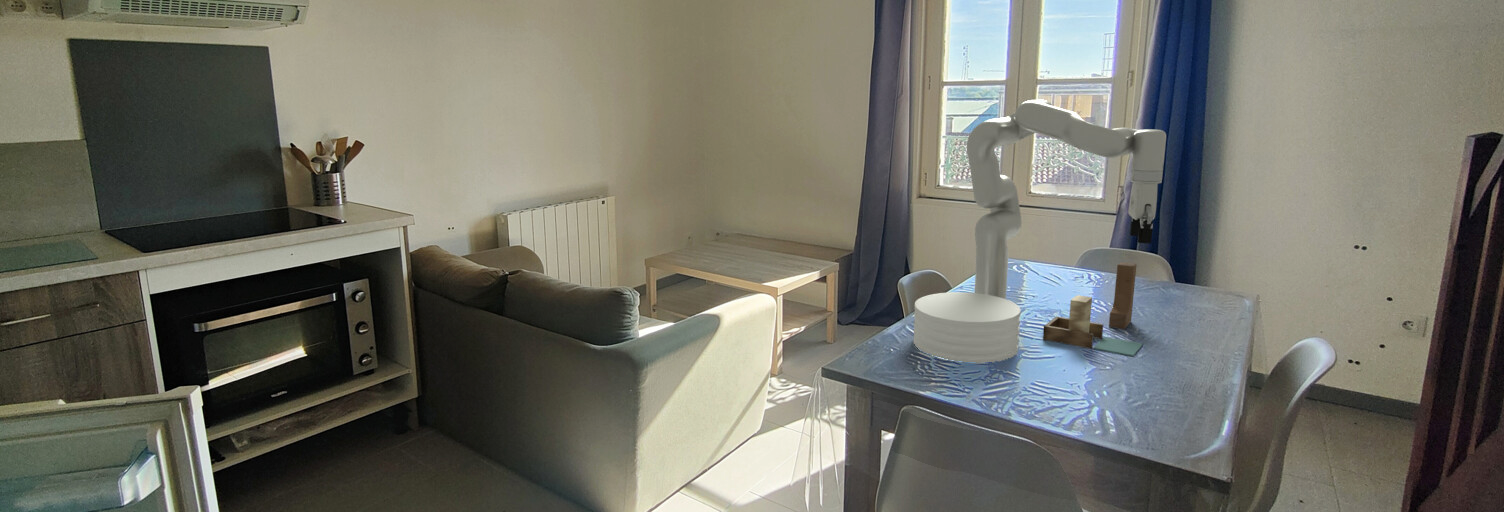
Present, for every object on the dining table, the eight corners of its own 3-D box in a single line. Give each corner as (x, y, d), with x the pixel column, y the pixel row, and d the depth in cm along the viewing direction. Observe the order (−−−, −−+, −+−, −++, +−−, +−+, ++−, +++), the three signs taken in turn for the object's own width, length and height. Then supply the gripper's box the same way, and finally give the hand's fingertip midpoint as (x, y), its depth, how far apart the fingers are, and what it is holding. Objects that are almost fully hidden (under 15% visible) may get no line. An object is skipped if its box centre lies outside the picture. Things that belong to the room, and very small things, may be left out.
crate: (1042, 339, 219) (1043, 326, 218) (1055, 329, 228) (1056, 316, 227) (1091, 348, 212) (1092, 334, 211) (1102, 337, 220) (1103, 324, 219)
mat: (1093, 349, 211) (1093, 347, 211) (1104, 338, 220) (1104, 336, 220) (1133, 356, 205) (1133, 355, 205) (1142, 344, 214) (1142, 343, 214)
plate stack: (1018, 334, 225) (1021, 296, 222) (1017, 368, 199) (1020, 325, 196) (920, 326, 234) (921, 289, 231) (906, 357, 208) (908, 316, 205)
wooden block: (1124, 329, 226) (1130, 269, 222) (1108, 327, 229) (1113, 267, 225) (1131, 321, 233) (1136, 263, 229) (1115, 319, 236) (1120, 261, 232)
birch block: (1067, 341, 218) (1070, 300, 215) (1073, 335, 222) (1077, 295, 220) (1082, 344, 215) (1085, 302, 213) (1088, 338, 220) (1092, 297, 217)
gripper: (1124, 172, 217) (1118, 232, 221) (1138, 180, 200) (1132, 245, 204) (1153, 172, 215) (1147, 233, 219) (1170, 181, 199) (1163, 246, 203)
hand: (1140, 239), depth 212 cm, fingers open, 9 cm apart
